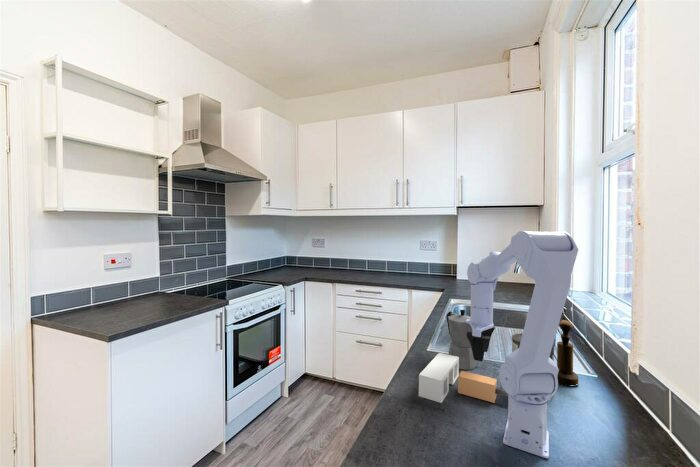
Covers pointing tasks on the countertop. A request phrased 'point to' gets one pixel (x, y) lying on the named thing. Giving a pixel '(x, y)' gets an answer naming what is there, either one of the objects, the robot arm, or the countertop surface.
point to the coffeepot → (460, 339)
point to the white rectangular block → (438, 377)
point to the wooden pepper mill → (565, 357)
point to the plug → (479, 386)
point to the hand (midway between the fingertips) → (480, 355)
